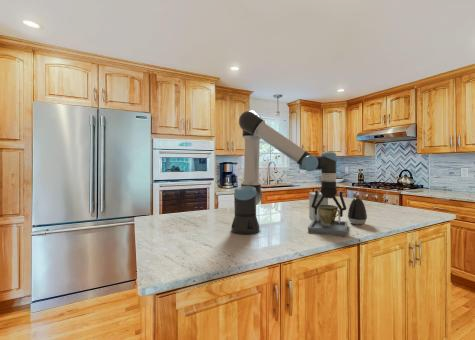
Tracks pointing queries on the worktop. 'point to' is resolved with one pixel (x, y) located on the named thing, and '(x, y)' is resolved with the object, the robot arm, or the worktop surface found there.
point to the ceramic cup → (328, 214)
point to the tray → (328, 228)
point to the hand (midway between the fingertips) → (328, 221)
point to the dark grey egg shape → (357, 212)
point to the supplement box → (312, 210)
